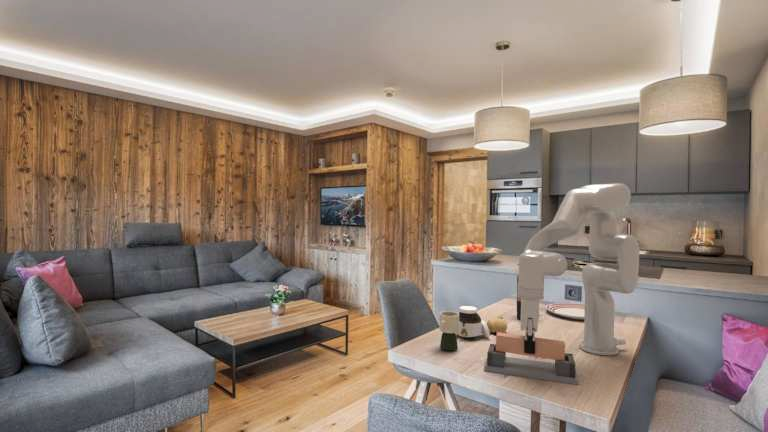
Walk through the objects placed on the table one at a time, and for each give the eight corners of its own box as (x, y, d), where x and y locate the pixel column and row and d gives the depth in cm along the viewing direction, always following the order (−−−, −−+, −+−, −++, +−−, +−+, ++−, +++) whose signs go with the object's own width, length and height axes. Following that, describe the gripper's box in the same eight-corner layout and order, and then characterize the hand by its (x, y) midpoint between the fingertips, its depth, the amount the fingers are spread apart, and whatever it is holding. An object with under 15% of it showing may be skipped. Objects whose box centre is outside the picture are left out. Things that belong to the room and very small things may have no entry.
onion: (499, 337, 157) (499, 319, 157) (482, 332, 163) (483, 315, 163) (510, 333, 162) (511, 316, 162) (494, 328, 168) (494, 312, 168)
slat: (495, 350, 126) (496, 335, 126) (496, 347, 129) (497, 332, 129) (564, 361, 119) (565, 344, 119) (563, 357, 122) (564, 341, 122)
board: (484, 370, 124) (484, 366, 124) (487, 358, 134) (488, 354, 134) (578, 384, 114) (578, 379, 114) (574, 370, 125) (574, 365, 125)
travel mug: (535, 318, 184) (536, 275, 184) (531, 322, 178) (532, 278, 178) (518, 316, 188) (519, 274, 188) (514, 319, 182) (515, 276, 182)
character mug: (447, 343, 149) (448, 308, 149) (464, 347, 145) (465, 312, 145) (432, 351, 141) (432, 314, 141) (450, 355, 136) (450, 318, 136)
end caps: (487, 365, 124) (487, 352, 124) (490, 355, 133) (490, 343, 133) (575, 378, 116) (575, 364, 116) (572, 366, 124) (572, 354, 124)
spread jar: (451, 335, 158) (452, 306, 158) (470, 330, 165) (470, 303, 165) (475, 344, 149) (475, 313, 149) (494, 338, 156) (494, 308, 155)
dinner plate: (548, 320, 183) (548, 313, 183) (543, 306, 209) (543, 300, 209) (615, 326, 175) (615, 318, 175) (601, 310, 201) (601, 304, 201)
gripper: (519, 287, 133) (517, 341, 133) (517, 297, 117) (515, 358, 118) (543, 289, 130) (541, 344, 130) (544, 299, 115) (543, 362, 115)
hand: (529, 350), depth 124 cm, fingers closed on slat, 3 cm apart
